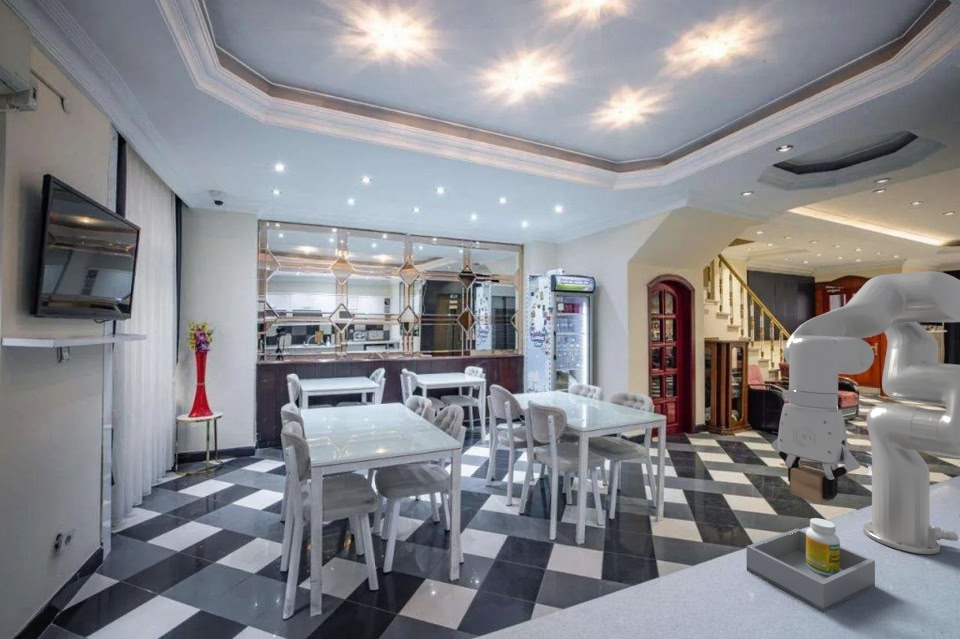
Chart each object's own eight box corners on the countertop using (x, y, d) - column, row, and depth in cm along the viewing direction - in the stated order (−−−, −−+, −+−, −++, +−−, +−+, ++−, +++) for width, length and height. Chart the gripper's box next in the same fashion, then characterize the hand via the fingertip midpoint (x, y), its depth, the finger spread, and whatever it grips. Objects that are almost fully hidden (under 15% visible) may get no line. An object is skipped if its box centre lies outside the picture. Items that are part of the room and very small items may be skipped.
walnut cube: (804, 489, 85) (804, 465, 85) (834, 499, 80) (834, 473, 80) (790, 493, 82) (790, 468, 82) (819, 503, 78) (819, 477, 78)
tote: (797, 550, 93) (797, 528, 93) (874, 586, 80) (874, 560, 80) (746, 570, 86) (746, 546, 86) (823, 612, 73) (823, 584, 73)
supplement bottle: (812, 558, 88) (813, 514, 88) (844, 572, 83) (845, 525, 83) (800, 566, 85) (801, 519, 85) (832, 580, 81) (833, 531, 81)
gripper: (756, 394, 88) (755, 480, 87) (856, 409, 72) (855, 514, 72) (777, 392, 91) (776, 475, 91) (878, 406, 75) (877, 507, 75)
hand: (811, 491), depth 81 cm, fingers closed on walnut cube, 5 cm apart
